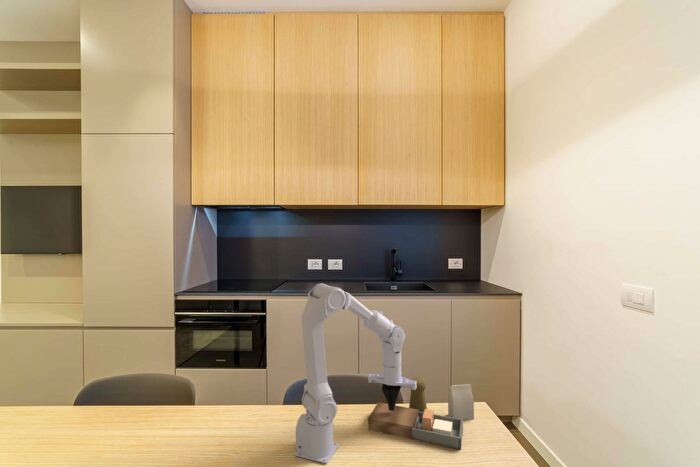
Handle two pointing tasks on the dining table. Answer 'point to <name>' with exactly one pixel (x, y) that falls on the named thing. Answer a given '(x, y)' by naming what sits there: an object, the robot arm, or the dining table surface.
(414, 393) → the olive pepper mill
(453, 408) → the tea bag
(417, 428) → the tray
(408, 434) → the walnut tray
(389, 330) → the robot arm
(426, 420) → the terracotta tile
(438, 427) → the cream ceramic tile
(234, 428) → the dining table surface
